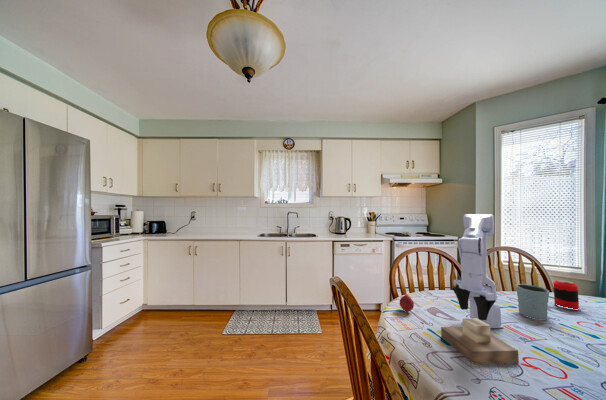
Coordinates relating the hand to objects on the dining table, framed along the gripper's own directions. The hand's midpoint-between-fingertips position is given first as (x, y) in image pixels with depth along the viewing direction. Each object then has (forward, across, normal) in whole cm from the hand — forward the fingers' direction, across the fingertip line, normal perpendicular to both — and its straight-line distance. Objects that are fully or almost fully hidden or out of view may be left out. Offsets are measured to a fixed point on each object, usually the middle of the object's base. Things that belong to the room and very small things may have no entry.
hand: (472, 314), depth 75 cm
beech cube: (+7, +2, 0) cm, 7 cm away
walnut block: (+11, +2, 0) cm, 11 cm away
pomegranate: (+11, -26, -9) cm, 29 cm away
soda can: (+11, -28, +71) cm, 77 cm away
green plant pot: (+11, -20, +45) cm, 50 cm away
